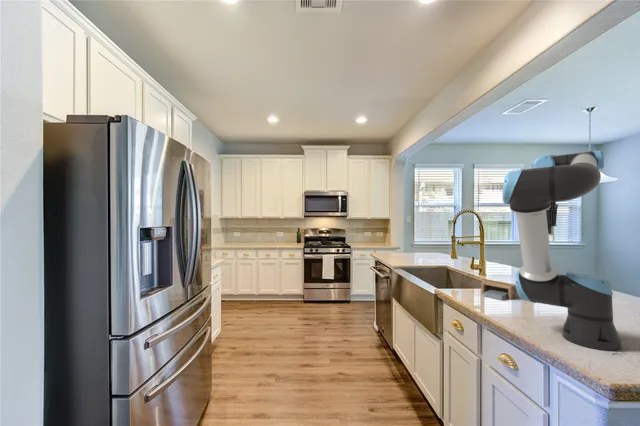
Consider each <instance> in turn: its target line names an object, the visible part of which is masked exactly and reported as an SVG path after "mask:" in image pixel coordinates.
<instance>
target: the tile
mask: <svg viewBox="0 0 640 426" xmlns="http://www.w3.org/2000/svg"><path fill="white" fill-rule="evenodd" d="M483 298H486V299H487V298H489V299H493V300H497V301H502V302H503V301H505V300H509V296H508V291H504V290H499V289H492V290H489V291H486V292H484V294H483Z"/></svg>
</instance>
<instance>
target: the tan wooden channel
mask: <svg viewBox="0 0 640 426" xmlns="http://www.w3.org/2000/svg"><path fill="white" fill-rule="evenodd" d="M480 283H481V294H482V295H484V292H486V291H489V290H492V289H499V290H504V291H508V296H509V298H508V300H509V301H512V300H516V299H518V298H520V296H519V295H518V292H517V289H516V283H509V282H505V281H504V282H503V281H499V280H498V281H497V280H492V279H487V280H483V281H481V282H480Z"/></svg>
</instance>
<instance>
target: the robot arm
mask: <svg viewBox="0 0 640 426" xmlns="http://www.w3.org/2000/svg"><path fill="white" fill-rule="evenodd" d="M604 160H605V159H604V151H603V150H599V149H598V150H590V151H583V152H576V153H569V154H559V155H556V154H546V155H541V156H538V157H537V158H535V159H534V161H533V163H532V168H527V169H526V168H525V169H522V168H521V169H518V170H511V171H509V172H508V173H506V175H505V177H504V180H503V186H502V202H503V204H505V205H509V208H510V211H512V212H514V213H515V216H516V223H517V228H518V237H519V242H520V243H519V244H520V252H521V258H522V266H521V267H520V268H519V270H518V271H516V272H515V278H514V279H515V280H514V281H515V284H516V289H517V292H518V295H519V298H520V299H522V301H526V302H529V303H534V304H542V305H547V306H548V305H549V306H555V307H559V308H560V307H561V308H562V307H563V308H566V309H567V317H566V319H565V321H564V324H563V325H562V326H563V327H562V329H561V332H562V333H561V335H562V338H564V339H565V340H566V341H569V342H571V343H574V344H576V345H579V346H582V347H586V348H590V349H594V350H595V349H596V350H600V351H601V350H602V351H618V350H621V349H622V347H623V345H622V344H623V343H622V342H623V341H622V339H621V336H620V335H619V332H618V330H617V328H616V326H615V323H614V312H613V311H614V310H613V309H614V308H613V296H614V292H613V288H612V283H611V281H610V280H609V279H607V278H606V277H603V276H600V275H596V274H592V273H587V272H581V271H571V270H569V271H566V273H565V274H559V273H558V270H557V268H556V267H555V266H553V265H552V257H551V248H550V241H551V242H554V241H555V227H557V226H558V225H557V220H558V219H557V216H558V215H557V214H558V207H559V204H558V202H560V203H561V202H569V201H571V200H575V199H579V198H581V197H582V196H585V195H586V194H589V193H590V192H592V191H593V190H594V189H596V188H597V187H598V185H599V184H600V182H601V178H602V177H601V175H602V174H601V171H600V170H602V169H604V166H605V164H604V163H605V162H604Z"/></svg>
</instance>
